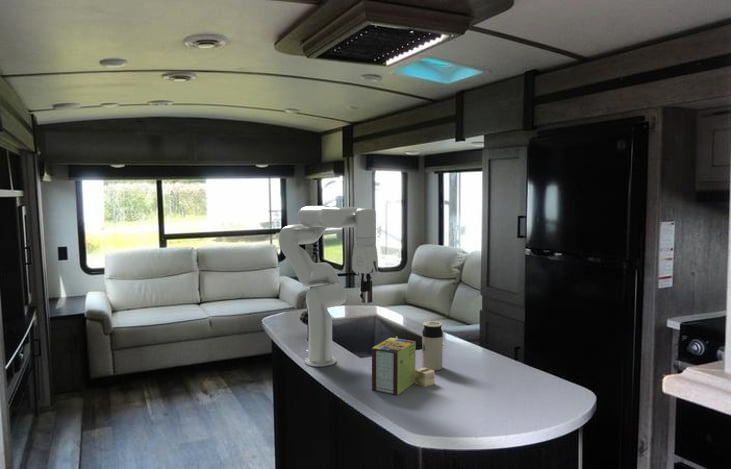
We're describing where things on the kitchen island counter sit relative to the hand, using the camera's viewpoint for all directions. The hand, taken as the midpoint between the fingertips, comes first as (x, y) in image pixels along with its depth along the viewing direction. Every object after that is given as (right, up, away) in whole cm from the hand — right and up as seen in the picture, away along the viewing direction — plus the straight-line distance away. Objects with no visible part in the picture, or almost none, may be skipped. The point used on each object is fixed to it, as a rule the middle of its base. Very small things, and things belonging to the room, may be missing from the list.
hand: (365, 291), depth 203 cm
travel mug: (+27, -32, +15) cm, 44 cm away
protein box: (+10, -34, -5) cm, 36 cm away
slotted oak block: (+22, -34, -2) cm, 40 cm away
